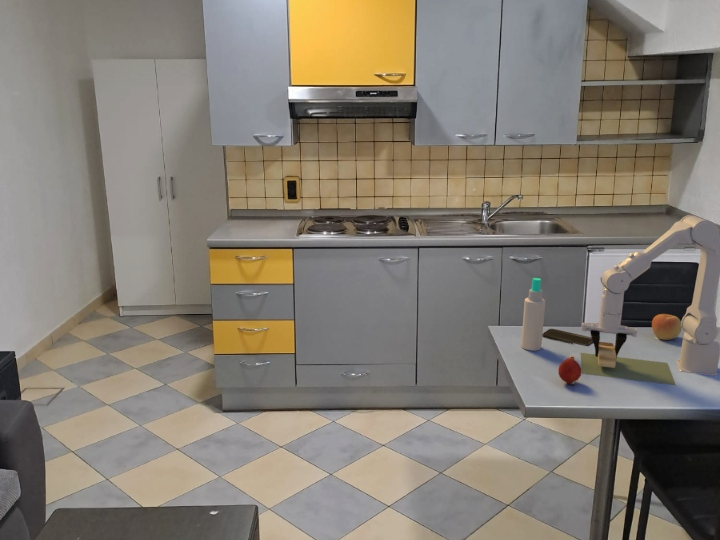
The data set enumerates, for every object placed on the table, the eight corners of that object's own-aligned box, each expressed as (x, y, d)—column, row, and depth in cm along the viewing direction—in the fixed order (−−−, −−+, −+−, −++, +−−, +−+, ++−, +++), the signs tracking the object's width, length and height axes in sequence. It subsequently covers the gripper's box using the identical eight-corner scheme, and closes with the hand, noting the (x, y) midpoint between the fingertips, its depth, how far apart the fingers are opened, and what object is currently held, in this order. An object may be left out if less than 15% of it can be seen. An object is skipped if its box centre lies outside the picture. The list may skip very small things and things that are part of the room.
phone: (550, 328, 214) (596, 338, 205) (550, 331, 214) (595, 341, 206) (541, 334, 208) (587, 345, 199) (540, 337, 208) (587, 348, 200)
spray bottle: (545, 349, 197) (551, 280, 192) (529, 352, 195) (535, 282, 189) (532, 342, 203) (538, 275, 197) (516, 345, 200) (522, 277, 195)
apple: (650, 340, 206) (653, 317, 204) (649, 332, 214) (652, 309, 212) (680, 345, 203) (684, 320, 201) (678, 335, 210) (682, 312, 208)
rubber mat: (667, 364, 187) (667, 362, 187) (675, 386, 173) (675, 385, 173) (580, 353, 194) (580, 352, 194) (581, 374, 180) (581, 373, 179)
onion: (565, 389, 170) (568, 361, 168) (553, 380, 175) (555, 353, 173) (584, 387, 172) (587, 359, 170) (571, 378, 177) (574, 351, 175)
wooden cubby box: (615, 367, 180) (616, 355, 179) (598, 365, 181) (599, 353, 180) (612, 354, 189) (613, 342, 188) (596, 353, 190) (597, 341, 189)
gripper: (637, 310, 183) (631, 354, 186) (583, 304, 187) (578, 348, 191) (639, 317, 176) (634, 363, 180) (584, 312, 181) (579, 357, 184)
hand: (605, 356), depth 185 cm, fingers closed on wooden cubby box, 4 cm apart
